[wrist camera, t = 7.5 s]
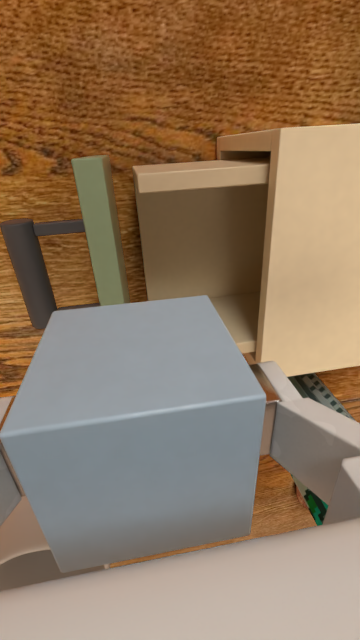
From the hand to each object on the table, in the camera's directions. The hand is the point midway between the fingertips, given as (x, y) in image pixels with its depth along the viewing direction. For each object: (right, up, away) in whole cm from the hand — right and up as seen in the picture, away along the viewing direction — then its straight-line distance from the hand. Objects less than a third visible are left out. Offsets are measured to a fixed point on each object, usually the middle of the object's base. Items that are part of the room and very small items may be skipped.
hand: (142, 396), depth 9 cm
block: (0, +1, +1) cm, 2 cm away
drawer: (0, +8, +14) cm, 16 cm away
